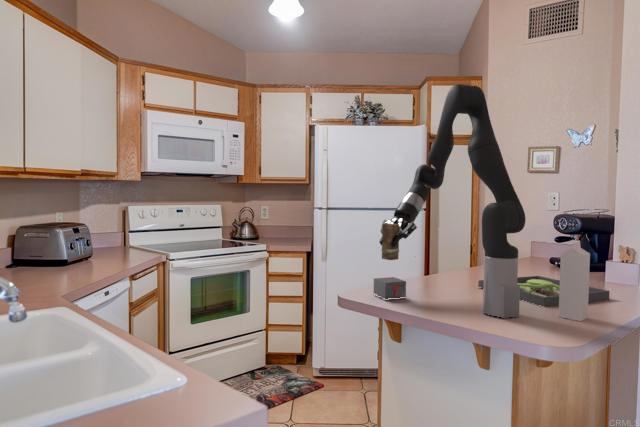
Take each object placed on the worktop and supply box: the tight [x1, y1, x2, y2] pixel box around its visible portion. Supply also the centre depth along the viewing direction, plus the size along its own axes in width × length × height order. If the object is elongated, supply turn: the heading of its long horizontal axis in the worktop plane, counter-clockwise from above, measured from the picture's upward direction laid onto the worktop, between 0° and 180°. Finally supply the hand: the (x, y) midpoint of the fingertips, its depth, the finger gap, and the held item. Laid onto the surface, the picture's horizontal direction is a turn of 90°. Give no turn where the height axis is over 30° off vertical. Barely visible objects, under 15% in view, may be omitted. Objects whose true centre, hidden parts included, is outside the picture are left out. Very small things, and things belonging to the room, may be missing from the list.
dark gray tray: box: [477, 275, 610, 307], centre depth 161 cm, size 30×30×3 cm
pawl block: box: [373, 276, 407, 299], centre depth 153 cm, size 8×8×6 cm
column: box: [381, 224, 400, 261], centre depth 153 cm, size 4×4×12 cm
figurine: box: [517, 279, 560, 294], centre depth 160 cm, size 18×27×6 cm
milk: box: [558, 241, 591, 322], centre depth 130 cm, size 6×6×22 cm
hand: (386, 244), depth 151 cm, fingers closed on column, 4 cm apart
